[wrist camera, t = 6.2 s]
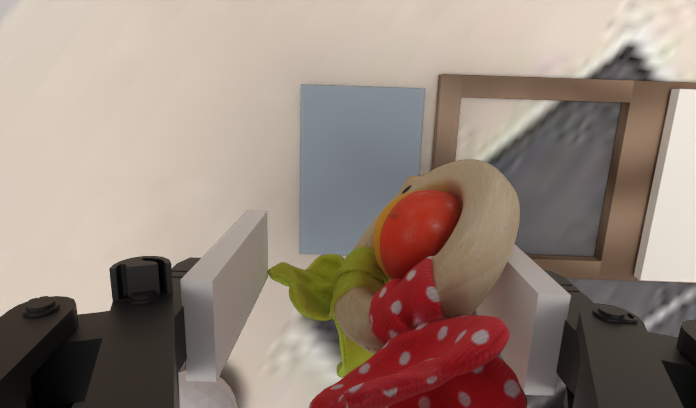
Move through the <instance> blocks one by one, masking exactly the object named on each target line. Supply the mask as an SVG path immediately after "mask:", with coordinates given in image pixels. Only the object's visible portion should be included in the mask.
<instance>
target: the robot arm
mask: <svg viewBox="0 0 696 408" xmlns="http://www.w3.org/2000/svg"><path fill="white" fill-rule="evenodd" d="M267 278H268V244H267V211H251V210H247V211H246V212H245V213H244V214H243V216H242V217H241V218H240V219H239V220H238V221H237V222H236V223H235V224H234V225H233V226H232V227H231V228H230V229H229V230H228V231H227V232H226V233H225V234H224V235H223V236H222V237H221V238H220V239H219V240H218V241H217V242H216V243H215V244H214V246H213V247H212V248H211V249H210V250H209V251H208V252H207V253H206V254H205V255H204V256H203V257H202V258H188V259H186V260H184V261H182V262H179V263H177V264H176V265H175V266H174V267H173V268H172V269H171V262H170V260H169V259H166V258H164V257H158V256H142V257H135V258H130V259H126V260H123V261H120V262H118V263H116V264H114V265H113V266H112V267H111V268H110V279H111V288H112V298H113V303H112V306H111V310H110V311H105V312H98V313H89V314H80V315H77V309H76V303H75V301H74V299H71V298H68V297H60V296H54V297H48V296H44V297H39V298H34V299H31V300H29V301H28V302H25V303H22V304H20V305H18V306H16V307H14V308H12V309H11V310H9V311H8V312H6V313H5V314H4V315H2V316H1V317H0V408H180V398H179V376H178V371H179V370H180V368H181V367H182V365H183V364H184V362H185V365H186V381H204V382H217V380H218V378H219V376H220V374H221V372H222V370H223V368H224V366H225V364H226V362H227V360H228V358H229V356H230V353H231V351H232V349H233V347H234V345H235V343H236V341H237V339H238V337H239V335H240V333H241V331H242V329H243V327H244V325H245V323H246V321H247V319H248V317H249V315H250V313H251V311H252V309H253V306H254V304H255V302H256V300H257V298H258V296H259V294H260V292H261V290H262V288H263V286H264V284H265V282H266V280H267ZM475 311H476V312H477V314H478V316H479V315H484V316H492V317H498V318H500V319H501V320H502V321H503V322H504V323H505V324H506V326H507V327H508V329H509V332H510V336H509V340H508V342H507V344H506V345H505V347H504V349H503V350H502V351H501V352H500V354H501V356H502V358H503V360H504V361H505V363H506V364H507V365H509V366H510V368H511V369H512V370H513V371H514V373H515V374H516V376H517V378H518V381H519V384H520V386H521V388H522V390H523V391H524V393H525V395H542V396H554V392H555V386H556V380H557V374H558V375H559V377H560V378H561V379H562V381H563V382H564V383H565V385H566V391H565V396H564V402H563V408H696V320H688V321H684V322H683V323H682V325H681V329H680V333H679V337H678V338H677V337H671V336H666V335H661V334H655V333H650V332H647V330H646V328H645V325H644V323H643V322H642V321H641V320H640V318H639V317H637V316H635V315H634V314H632V313H630V312H628V311H626V310H623V309H621V308H618V307H615V306H612V305H605V304H596V303H593V302H592V301H591V300H590V299H589V298H588V297H586V296H585V295H584V294H583V293H580V291H579V290H578V289H577V288H576V287H575V286H573V285H572V284H571V283H570V282H569V281H568V280H566V279H565V278H564V277H562V276H560V275H558V274H556V273H554V272H552V271H550V270H543V269H542V268H540V267H539V266H538V265H537V264H536V263H535V262H534V261H533V260H532V259H531V258H529V257H528V256H527V255H526V254H525V253H524V252H523V251H522V250H521V249H520V248H518V247H517V246H516V245H515V244H514V247H513V249H512V252H511V255H510V257H509V259H508V261H507V264H506V266H505V268H504V270H503V271H502V273H501V275H500V277H499V278H498V280H497V282H496V283H495V285H494V286H493V288H492V289H491V290H490V292H489V293H488V295H487V296H486V297H485V299H484V300H483V301H482V302H481V304H480V305H479V306H478V307H477V308H476V309H475Z"/></svg>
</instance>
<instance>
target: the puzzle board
mask: <svg viewBox="0 0 696 408" xmlns="http://www.w3.org/2000/svg"><path fill="white" fill-rule="evenodd" d="M672 89H696V83H690V82H660V81H630V80H600V79H570V78H540V77H510V76H481V75H451V74H441V75H439V82H438V94H437V107H436V120H435V132H434V145H433V157H432V170H434V169H436V168H438V167H440V166H443V165H445V164H448V163H451V162H455V157H456V146H457V135H458V124H459V113H460V103H461V97H475V98H504V99H534V100H563V101H593V102H622V105H621V110H620V116H619V121H618V127H617V133H616V138H615V144H614V149H613V155H612V161H611V166H610V172H609V177H608V183H607V189H606V194H605V200H604V205H603V211H602V217H601V222H600V228H599V233H598V239H597V245H596V250H595V256H594V257H585V256H558V255H531V254H526V255H527V256H528V257H529V258H531V259H532V260H533V261H534V262H535V263H536V264H537V265H538V266H539V267H540V268H542V269H543V270H550V271H552V272H554V273H556V274H558V275H560V276H562V277H564V278H574V279H601V280H627V281H643V280H639V279H637V278H636V277H634V272H635V267H636V262H637V257H638V252H639V247H640V242H641V237H642V233H643V228H644V223H645V218H646V213H647V208H648V203H649V198H650V193H651V188H652V183H653V179H654V174H655V169H656V164H657V159H658V154H659V149H660V144H661V139H662V134H663V129H664V125H665V120H666V115H667V110H668V105H669V100H670V95H671V90H672ZM432 170H431V171H432ZM654 282H670V281H654ZM681 283H696V282H681Z"/></svg>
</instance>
